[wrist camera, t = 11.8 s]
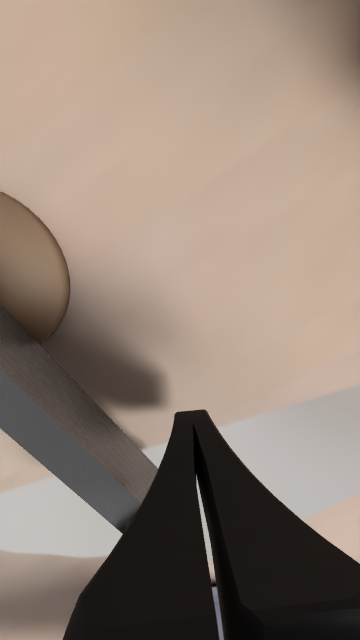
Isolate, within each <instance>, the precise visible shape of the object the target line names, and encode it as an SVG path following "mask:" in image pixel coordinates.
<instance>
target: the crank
mask: <svg viewBox="0 0 360 640" xmlns="http://www.w3.org/2000/svg"><path fill="white" fill-rule="evenodd" d="M0 428H1V429H2V430H3V431H4V432H5V433H6V434H8V435H9V436H10V437H11V438H12V439H13V440H15V441H16V442H17V443H18V444H19V445H20V446H22V447H23V448H24V449H25V450H26V451H27V452H29V453H30V454H31V455H32V456H33V457H34V458H36V459H37V460H38V461H39V462H40V463H41V464H42V465H44V466H45V467H46V468H47V469H48V470H49V471H51V472H52V473H53V474H54V475H55V476H56V477H58V478H59V479H60V480H61V481H62V482H63V483H65V484H66V485H67V486H68V487H69V488H70V489H72V490H73V491H74V492H75V493H76V494H77V495H78V496H80V497H81V498H82V499H83V500H84V501H85V502H87V503H88V504H89V505H90V506H91V507H92V508H94V509H95V510H96V511H97V512H98V513H99V514H101V515H102V516H103V517H104V518H105V519H106V520H108V521H109V522H110V523H111V524H112V525H113V526H115V527H116V528H117V529H118V530H119V531H120V532H121V533H124V532H125V530H126V529H127V527H128V526H129V524H130V523H131V521H132V519H133V518H134V516H135V514H136V512H137V511H138V509H139V507H140V505H141V503H142V502H143V500H144V498H145V496H146V494H147V492H148V490H149V488H150V486H151V484H152V482H153V480H154V478H155V476H156V474H157V471H158V468H157V467H156V466H155V465H154V464H153V463H152V462H151V461H150V460H149V459H148V458H147V457H146V456H145V454H144V453H143V452H142V451H141V450H140V449H139V448H138V447H137V446H136V445H135V444H134V443H133V442H132V441H131V440H130V439H129V438H128V437H127V436H126V434H125V433H124V432H123V431H122V430H121V429H120V428H119V427H118V426H117V425H116V424H115V423H114V422H113V421H112V420H111V419H110V418H109V417H108V416H107V415H106V413H105V412H104V411H103V410H102V409H101V408H100V407H99V406H98V405H97V404H96V403H95V402H94V401H93V400H92V399H91V398H90V397H89V396H88V395H87V394H86V393H85V391H84V390H83V389H82V388H81V387H80V386H79V385H78V384H77V383H76V382H75V381H74V380H73V379H72V378H71V377H70V376H69V375H68V374H67V373H66V372H65V370H64V369H63V368H62V367H61V366H60V365H59V364H58V363H57V362H56V361H55V360H54V359H53V358H52V357H51V356H50V355H49V354H48V353H47V352H46V351H45V349H44V348H43V347H42V346H41V345H40V344H39V343H38V342H37V341H36V340H35V339H34V338H33V337H32V336H31V335H30V334H29V333H28V332H27V331H26V330H25V328H24V327H23V326H22V325H21V324H20V323H19V322H18V321H17V320H16V319H15V318H14V317H13V316H12V315H11V314H10V313H9V312H8V311H7V310H6V309H5V308H4V306H3V305H2V304H1V303H0Z"/></svg>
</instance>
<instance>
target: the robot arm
mask: <svg viewBox="0 0 360 640" xmlns="http://www.w3.org/2000/svg"><path fill="white" fill-rule="evenodd" d="M196 475H197V480H198V484H199V489H200V494H201V498H202V503H203V508H204V513H205V517H206V522H207V526H208V531H209V537H210V542H211V548H212V556H213V563H214V570H215V577H216V585H217V587H212V586H211V580H210V573H209V567H208V561H207V554H206V548H205V541H204V535H203V528H202V522H201V515H200V508H199V501H198V494H197V487H196ZM63 640H360V564H359V563H358V562H356V561H355V560H354V559H352V558H351V557H350V556H348V555H347V554H345V553H344V552H343V551H341V550H340V549H338V548H337V547H336V546H334V545H333V544H332V543H330V542H329V541H327V540H326V539H325V538H323V537H322V536H321V535H320V534H318V533H317V532H316V531H315V530H313V529H312V528H311V527H310V526H308V525H307V524H306V523H305V522H303V521H302V520H301V519H300V518H299V517H298V516H296V515H295V514H294V513H293V512H292V511H291V510H290V509H288V508H287V507H286V506H285V505H284V504H283V503H282V502H281V501H279V500H278V499H277V498H276V497H275V496H274V495H273V494H272V493H271V492H270V491H269V490H268V489H267V488H266V487H265V486H264V485H263V484H262V483H261V482H260V481H259V480H258V479H257V478H256V477H255V476H254V475H253V474H252V473H251V472H250V471H249V469H248V468H247V467H246V466H245V465H244V464H243V463H242V461H241V460H240V459H239V458H238V457H237V455H236V454H235V453H234V452H233V451H232V449H231V448H230V446H229V445H228V444H227V442H226V441H225V440H224V438H223V437H222V435H221V434H220V433H219V431H218V429H217V428H216V426H215V425H214V423H213V421H212V420H211V418H210V416H209V414H208V412H207V411H206V410H194V411H183V412H177V413H176V414H175V416H174V424H173V428H172V432H171V436H170V439H169V442H168V445H167V448H166V451H165V454H164V457H163V459H162V461H161V464H160V466H159V469H158V471H157V474H156V476H155V478H154V480H153V482H152V484H151V486H150V488H149V490H148V492H147V494H146V496H145V498H144V500H143V502H142V503H141V505H140V507H139V509H138V511H137V512H136V514H135V516H134V518H133V519H132V521H131V523H130V524H129V526H128V527H127V529H126V530H125V532H124V533H123V535H122V537H121V538H120V540H119V541H118V543H117V544H116V546H115V547H114V549H113V550H112V552H111V553H110V555H109V556H108V558H107V559H106V560H105V562H104V563H103V564H102V566H101V567H100V568H99V570H98V571H97V573H96V574H95V575H94V577H93V578H92V579H91V581H90V582H89V583H88V585H87V586H86V587H85V589H84V590H83V591H82V593H81V594H80V596H79V598H78V601H77V603H76V605H75V608H74V610H73V613H72V615H71V618H70V621H69V623H68V626H67V629H66V631H65V634H64V637H63Z"/></svg>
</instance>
